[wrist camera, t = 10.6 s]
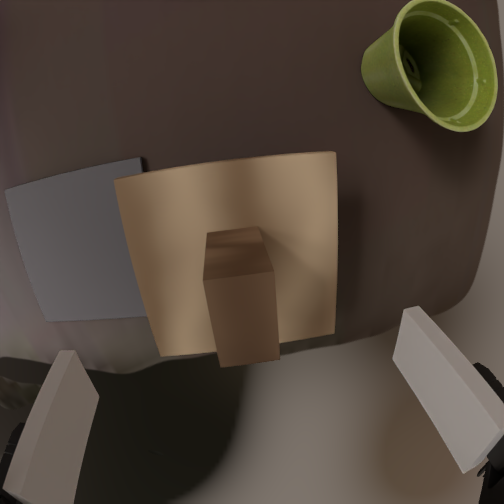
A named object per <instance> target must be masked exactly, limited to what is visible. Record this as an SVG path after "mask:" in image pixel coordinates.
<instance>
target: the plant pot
mask: <svg viewBox="0 0 504 504" xmlns="http://www.w3.org/2000/svg"><path fill="white" fill-rule="evenodd" d="M406 59H409V61H410V62H411V64H412V66H413V68H414V72H412V71H411V69H410V66H409V64H408V62H407V61H406ZM361 73H362V77H363V80H364V83H365V85H366V87H367V88H368V90H369V91H370V93H371V94H372V95H373V96H374V97H375V98H376V99H377V100H379V101H381V102H382V103H384V104H386V105H389V106H392V107H396V108H401V109H406V110H410V111H415V112H419V113H422V114H425V115H426V116H427V117H428V118H430V119H431V120H432V121H434V122H435V123H436V124H438V125H440V126H442V127H444V128H446V129H449V130H452V131H457V132H467V131H471V130H474V129H476V128H478V127H480V126H481V125H482V124H483V123H484V122H485V121H486V120H487V119H488V117H489V116H490V114H491V112H492V110H493V108H494V105H495V102H496V97H497V90H498V81H497V72H496V66H495V61H494V58H493V55H492V52H491V50H490V48H489V45H488V43H487V41H486V39H485V37H484V35H483V34H482V33H481V31H480V30H479V28H478V27H477V25H476V24H475V23H474V22H473V20H472V19H471V18H470V17H469V16H467V15H466V14H465V13H464V12H463V11H462V10H461V9H459V8H458V7H456V6H455V5H453V4H451V3H450V2H448V1H445V0H412V1H411V2H409V3H408V4H407V5H405V6H404V7H403V8H402V9H401V11H400V12H399V13H398V15H397V17H396V19H395V22H394V25H393V27H392V28H391V29H390V30H388V31H387V32H386V33H385V34H384V35H382V36H381V37H380V38H379V39H378V40H376V41H375V42H374V43H373V44H371V45H370V46H369V47H368V48H367V49H366V51H365V52H364V55H363V59H362V65H361Z"/></svg>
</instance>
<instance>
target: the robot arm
mask: <svg viewBox="0 0 504 504" xmlns="http://www.w3.org/2000/svg"><path fill="white" fill-rule="evenodd" d="M392 359H393V361H394V362H395V364H396V366H397V367H398V369H399V370H400V372H401V373H402V374H403V376H404V378H405V379H406V381H407V382H408V384H409V385H410V387H411V389H412V390H413V392H414V393H415V395H416V396H417V398H418V399H419V401H420V403H421V404H422V406H423V408H424V409H425V411H426V412H427V414H428V416H429V417H430V419H431V420H432V422H433V424H434V425H435V427H436V429H437V430H438V432H439V434H440V435H441V437H442V439H443V440H444V442H445V443H446V445H447V447H448V449H449V450H450V452H451V453H452V455H453V457H454V459H455V461H456V462H457V464H458V466H459V468H460V469H461V471H462V473H463V474H464V473H465V472H467V471H469V470H471V469H472V468H474V467H476V466H477V465H479V464H480V463H481V461H482V460H483V459H484V458H485V457H486V456H487V458H488V459H489V461H488V462H487V463H486V464H485V465H484V466H483V467H482V468H481V469H480V471H479V472H478V474H477V476H478V477H479V476H480V475H481V474H482V473H483V472H484V471H485V474H484V475H483V477H484V481H483V486H482V491H481V495H480V500H479V504H504V387H502V384H501V383H500V382H499V381H498V380H496V377H495V376H494V375H493V374H492V372H491V371H490V370H489V369H488V368H486V367H485V366H483V365H481V364H480V363H475V364H473V365H472V364H471V363H470V362H469V361H468V359H467V358H466V357H465V356H464V355H463V354H462V353H461V351H459V349H458V348H457V347H456V346H455V345H454V344H453V342H452V341H451V340H450V339H449V338H448V337H447V336H446V335H445V333H444V332H443V331H441V329H440V328H439V327H438V326H437V325H436V324H435V323H434V321H433V320H432V319H431V318H430V317H429V316H428V315H427V314H426V313H425V312H424V311H423V310H422V309H421V308H420V307H419V306H415V307H411V308H407V309H404V311H403V316H402V320H401V325H400V329H399V334H398V338H397V343H396V347H395V350H394V354H393V358H392ZM98 400H99V395H98V393H97V391H96V390H95V388H94V386H93V384H92V382H91V381H90V379H89V377H88V375H87V373H86V371H85V369H84V367H83V365H82V363H81V361H80V359H79V357H78V355H77V353H76V351H75V350H60V351H59V353H58V355H57V357H56V359H55V361H54V363H53V365H52V367H51V369H50V371H49V373H48V375H47V377H46V379H45V381H44V383H43V386H42V388H41V390H40V392H39V394H38V396H37V399H36V401H35V403H34V406H33V408H32V410H31V413H30V415H29V417H28V419H27V422H26V423H19V425H18V426H17V427H16V428H15V429H14V430H13V432H12V434H11V436H10V439H9V441H8V445H7V447H6V449H5V454H3V457H2V460H1V463H0V504H73V502H74V497H75V492H76V487H77V482H78V477H79V473H80V468H81V464H82V460H83V455H84V451H85V447H86V443H87V439H88V435H89V431H90V428H91V424H92V420H93V417H94V413H95V410H96V406H97V403H98Z"/></svg>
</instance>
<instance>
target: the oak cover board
mask: <svg viewBox="0 0 504 504" xmlns="http://www.w3.org/2000/svg"><path fill="white" fill-rule="evenodd" d="M114 185H115V190H116V195H117V200H118V205H119V210H120V215H121V219H122V224H123V228H124V233H125V237H126V241H127V245H128V249H129V253H130V257H131V261H132V265H133V269H134V272H135V276H136V280H137V283H138V287H139V290H140V294H141V297H142V300H143V304H144V307H145V310H146V314H147V317H148V320H149V323H150V326H151V329H152V332H153V335H154V338H155V341H156V344H157V347H158V350H159V353H160V356H161V357H162V356H175V355H186V354H197V353H207V352H216V351H217V354H218V358H219V362H220V367H230V366H238V365H246V364H253V363H260V362H267V361H274V360H280V347H279V343H283V342H289V341H295V340H301V339H307V338H313V337H318V336H323V335H329V334H334V332H335V315H336V294H337V261H338V197H337V165H336V152H333V151H323V152H306V153H292V154H280V155H269V156H258V157H248V158H239V159H231V160H223V161H215V162H207V163H200V164H193V165H186V166H180V167H173V168H167V169H161V170H156V171H150V172H144V173H139V174H134V175H128V176H123V177H118V178H116V179H114Z"/></svg>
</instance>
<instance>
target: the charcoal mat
mask: <svg viewBox="0 0 504 504" xmlns="http://www.w3.org/2000/svg"><path fill="white" fill-rule="evenodd" d="M139 173H143V166H142V159H141V157H138V158H132V159H127V160H122V161H116V162H111V163H106V164H102V165H97V166H92V167H88V168H83V169H79V170H75V171H71V172H66V173H62V174H58V175H55V176H51V177H47V178H43V179H39V180H36V181H32V182H29V183H25V184H22V185H18V186H15V187H12V188H9V189H6V190H4V191H5V196H6V200H7V205H8V209H9V213H10V217H11V221H12V225H13V229H14V233H15V236H16V240H17V243H18V247H19V250H20V253H21V256H22V259H23V263H24V266H25V269H26V271H27V274H28V277H29V280H30V283H31V286H32V288H33V291H34V294H35V296H36V299H37V301H38V304H39V306H40V309H41V311H42V313H43V316H44V318H45V320H46V322H55V321H79V320H98V319H115V318H130V317H143V316H147V314H146V310H145V307H144V304H143V300H142V297H141V294H140V290H139V287H138V283H137V280H136V276H135V272H134V269H133V265H132V261H131V257H130V253H129V249H128V245H127V241H126V237H125V233H124V228H123V224H122V219H121V215H120V210H119V205H118V200H117V195H116V190H115V185H114V179H116V178H118V177H123V176H128V175H134V174H139Z"/></svg>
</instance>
